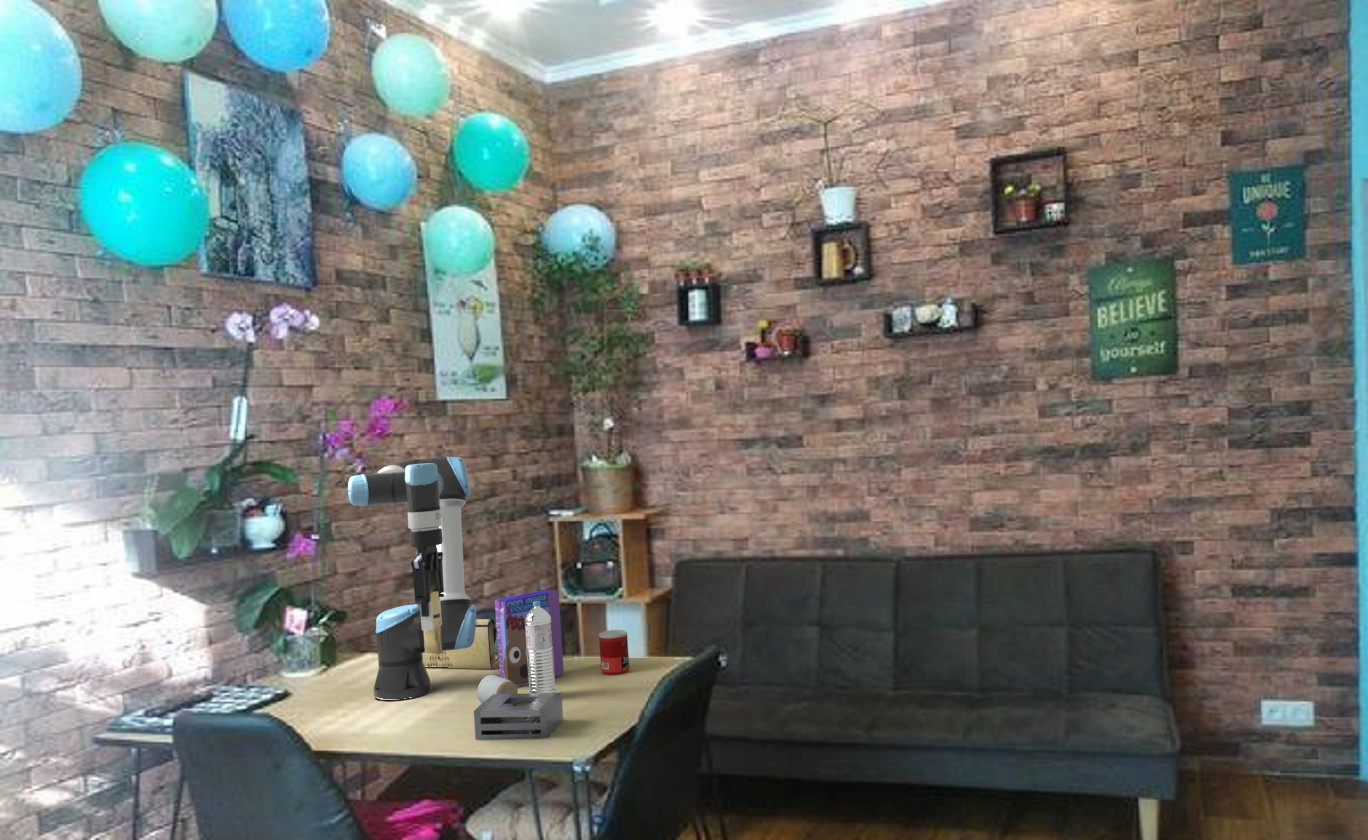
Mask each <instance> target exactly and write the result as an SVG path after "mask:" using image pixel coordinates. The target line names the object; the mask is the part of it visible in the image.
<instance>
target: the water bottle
mask: <svg viewBox="0 0 1368 840" xmlns="http://www.w3.org/2000/svg"><path fill="white" fill-rule="evenodd" d="M533 606H534V608H533V609H531V610H530V611H529V612H528V614H527V615H526V617H525V619H524V622H525V630H526V646H527V649H526V652H527V666H528V680H529V681H528V683H529V685H528V694H530V693H557V692H556V691H557V689H556V678H555V675H554V674H555V672H554V661H553V660H554V658H553V646H552V634H551V617H550V615H549V614H548V612H547V611H545V610H544V609H543V608H541V607H540V601H535V602H533Z"/></svg>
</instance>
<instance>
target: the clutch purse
mask: <svg viewBox="0 0 1368 840" xmlns="http://www.w3.org/2000/svg"><path fill="white" fill-rule="evenodd" d="M496 642H497V628H496V622H495V621H494V619H493V618H488V619H487V618H484V619H482V618H476V629H475V637H474V642H473V644H472V645H471V646H470V647H468V648H463V649H457V650H447V651H441V652H438V653H422V656H423V664H424V666H436V667H448V668H447V669H463V670H464V669H467V670H470V669H471V670H473V669H474V670H475V669H476V670H491V671H493V670H495V667H496V662H497V661H499V658H498V657H497V658H496V650H495V649H496V648H495V647H496V645H495V644H496Z"/></svg>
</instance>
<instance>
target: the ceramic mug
mask: <svg viewBox="0 0 1368 840" xmlns="http://www.w3.org/2000/svg"><path fill="white" fill-rule="evenodd" d="M476 694H477V699H478V700H479V702H480V704H483V703H484V702H485V701H486V700H487V699H488V698H489V697H491V696H492V695H493V694H519V690H518V687H516V685H515V684H514V683H513V682H511V681H510V680H507V679H504V678H501V677H500V676H497V675H496V674H495V675H494V674H488V675H486V676H484V677H483V678H482V679H481V681H480V682H479V685H478V686H477V693H476ZM508 706H514V704H509V705H508Z"/></svg>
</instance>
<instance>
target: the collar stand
mask: <svg viewBox="0 0 1368 840" xmlns="http://www.w3.org/2000/svg"><path fill="white" fill-rule="evenodd" d="M509 704H513V705H512V706H508V705H509ZM514 704H515V705H514ZM516 704H521V705H516ZM522 704H529V705H522ZM473 721H474V736H475V737H474V738H475V740H516V739H517V740H518V739H549V738H550V736H551V735H552V734H553V733H552V732H554V731H555V730H556V729H557V728H558V727H559V726H560V724H561V723H562V722H563V721H564V712H563V699H562V692H556V693H530V694H529V693H518V694H493V695H492V696H491V697H489V698H488V699H487V700H486V701H485V702H484V703H483V704H482V703H480V705H479V706H478V707H476V708H475V709H474V711H473Z"/></svg>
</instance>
